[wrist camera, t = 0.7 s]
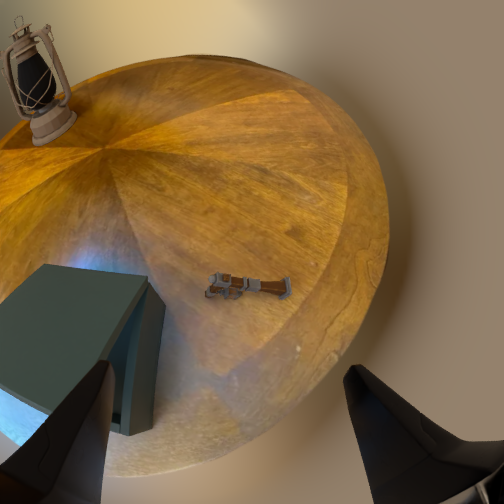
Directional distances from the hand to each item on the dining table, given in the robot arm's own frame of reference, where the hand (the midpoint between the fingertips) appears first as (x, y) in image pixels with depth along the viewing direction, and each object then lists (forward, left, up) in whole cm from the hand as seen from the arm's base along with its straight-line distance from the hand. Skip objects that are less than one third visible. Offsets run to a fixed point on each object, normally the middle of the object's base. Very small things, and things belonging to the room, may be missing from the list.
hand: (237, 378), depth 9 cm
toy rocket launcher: (+9, -1, -16) cm, 18 cm away
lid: (+2, +13, -6) cm, 15 cm away
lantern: (+42, +44, -16) cm, 63 cm away
